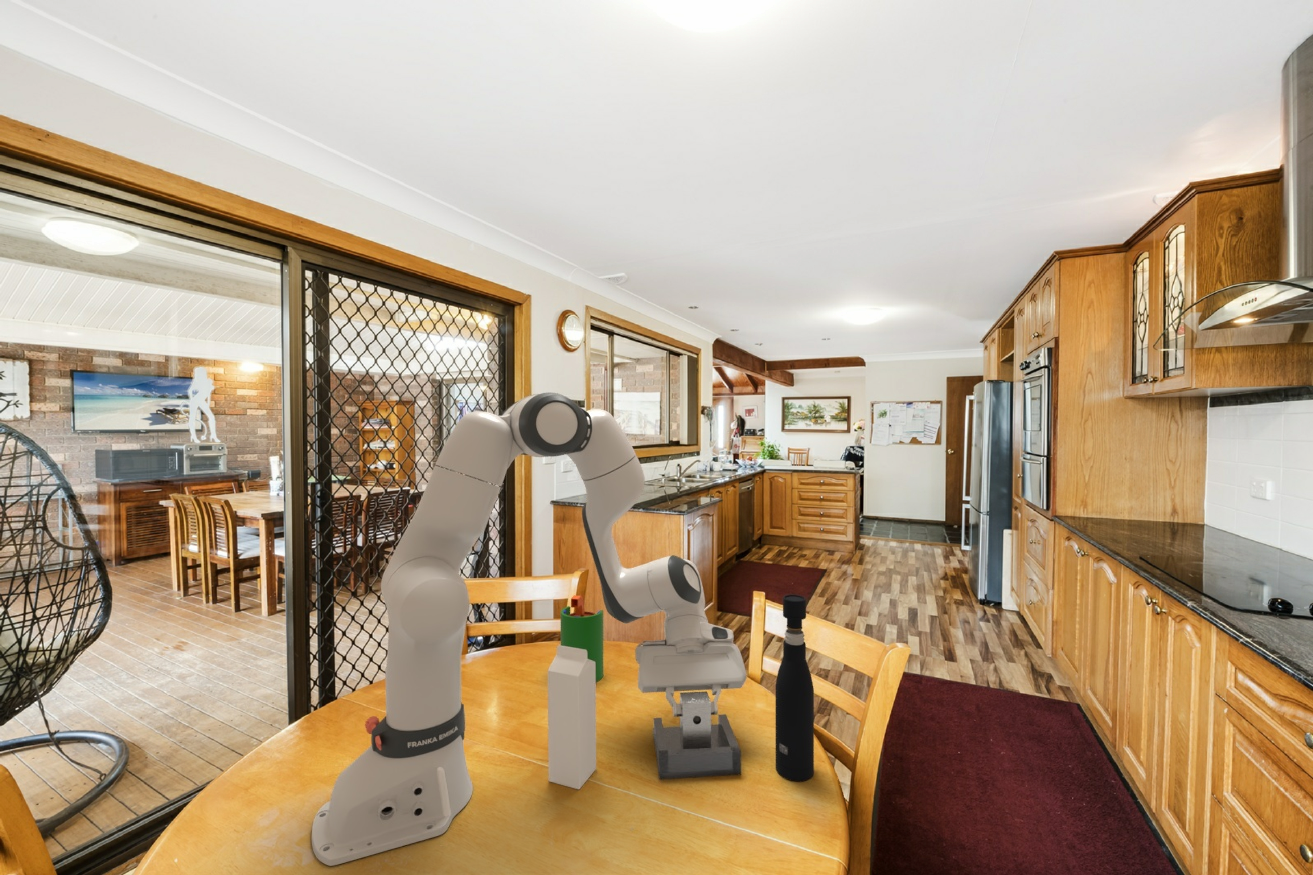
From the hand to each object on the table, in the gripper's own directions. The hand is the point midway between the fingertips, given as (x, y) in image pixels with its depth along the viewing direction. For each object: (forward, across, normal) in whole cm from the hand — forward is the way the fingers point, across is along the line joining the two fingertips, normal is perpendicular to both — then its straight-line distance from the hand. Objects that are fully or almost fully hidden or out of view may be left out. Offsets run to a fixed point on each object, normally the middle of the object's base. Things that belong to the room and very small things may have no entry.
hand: (695, 715), depth 96 cm
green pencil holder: (-18, -22, +30) cm, 42 cm away
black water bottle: (+9, +16, +3) cm, 19 cm away
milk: (+8, -22, +4) cm, 23 cm away
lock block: (+4, 0, +5) cm, 6 cm away
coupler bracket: (+4, 0, +7) cm, 8 cm away
